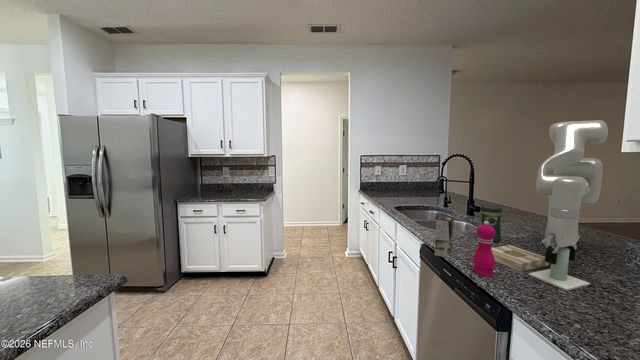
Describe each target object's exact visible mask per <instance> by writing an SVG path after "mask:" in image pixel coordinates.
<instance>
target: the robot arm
mask: <svg viewBox="0 0 640 360" xmlns="http://www.w3.org/2000/svg"><path fill="white" fill-rule="evenodd" d="M548 134H549V138H550V139H551V141H552V143H553V145H554V154H552V155H551V156H549V157H548V158H547V159H545V160H544V161H542V162H541V165H540V166H539V168H538V170H537V175H536V181H535V183H536V184H535V188H536V191H537V193H538V194H540V195H542V196H543V195H544V196H548V215H547V223H546V227H545V234H544V239H542V240H541V243H542V244H543V248H544V251H545V255H544V257H545V261H546V262H548V263H549V264H550V265H551V264H554V265H555V264H556V261H557V253H556V251H557V250H558V248H559V247H565V248H568V249H570V252H569V261H573V262H574V261H575V260H576V253H577V252H576V251H577V249H578V244H579V240H580V238H581V236H580V235H579V220H580V210H581V205H582V204H581V203H589V204H590V203H596V202H597V201H598V200H599V198H600V196H601V195H600V194H601V187H602V177H603V163H602V160H600V159H597V158H596V157H585V145H587V144H590V145H591V144H593V145H594V144H602V143H604V142H606V140H607V139H608V136H609V128H608V124H607V123H606V122H605V121H604V120H599V119H596V120H594V119H593V120H580V121H579V120H575V121H574V120H573V121H571V120H570V121H561V122H556V123H552V124H551V125H550V126H549V129H548ZM552 170H553V173H554V175H550V174H548V173H549V172H551V171H552ZM553 246H554V249H553Z"/></svg>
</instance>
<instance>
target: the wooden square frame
mask: <svg viewBox="0 0 640 360" xmlns="http://www.w3.org/2000/svg"><path fill="white" fill-rule="evenodd" d="M491 250H492V253H493V256H494V258H495V263H496V262H497V263H499V264H501V265H504V266H505V267H506V266H507V267H509V268H511V269H513V270H516V271H519V272H524V271H529V270H533V269H534V270H535V269H538V268H543V267H548V266H550V263H548V262H546V261H545V255H544V256H543V255H542V254H541V255H540V254H537V253H535V252H531V251H528V250H525V249H523V248H519V247H517V246H514V245H512V244H511V245H510V244H509V245H502V246H496V247H491Z"/></svg>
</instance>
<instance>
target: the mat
mask: <svg viewBox="0 0 640 360" xmlns="http://www.w3.org/2000/svg"><path fill="white" fill-rule="evenodd" d="M550 270H551V268H547V269H543V270H538V271H533V272H528V276H530V277H532V278H535V279H538V280H540V281H542V282H544V283H547V284H549V285H552V286H554V287H557V288H559V289H562V290H564V291H566V292H567V291H572V290H575V289H580V288H583V286H584V287H587V286H591V282H588V281H585V280H582V279H579V278H578V277H574V276H571V275H570V274H567V280H566V281H559V280H555V279H553V278H551V277H550Z"/></svg>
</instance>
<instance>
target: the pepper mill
mask: <svg viewBox="0 0 640 360" xmlns="http://www.w3.org/2000/svg"><path fill="white" fill-rule="evenodd" d="M476 234H477V242H478V245H477V248H476V251H475V253H474V254H473V257H472V262H473V264H474V266H473V271H474V273H475V274H477V275H479V276H484V277H492V276H493V275H494V269H493V268H495V266H496V261H495V258H494V256H493V253H492V250H491V248H492V245H493V243H494V242H493V237H494V236H495V229H494V228H493V227H492V226H490V225H489V222H488V221H484V225H481V224H480V225H478V226H477V227H476Z"/></svg>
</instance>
